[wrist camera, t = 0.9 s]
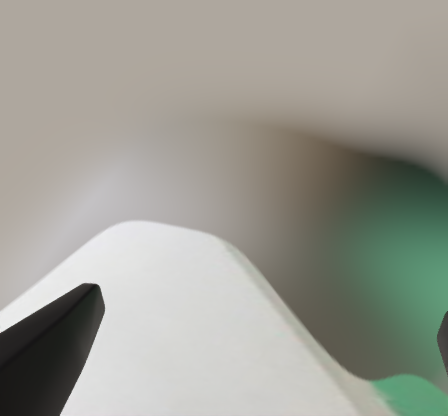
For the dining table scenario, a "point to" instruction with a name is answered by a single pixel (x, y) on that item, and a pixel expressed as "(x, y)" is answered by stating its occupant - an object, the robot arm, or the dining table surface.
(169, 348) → the dining table surface
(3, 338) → the robot arm
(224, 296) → the dining table surface
